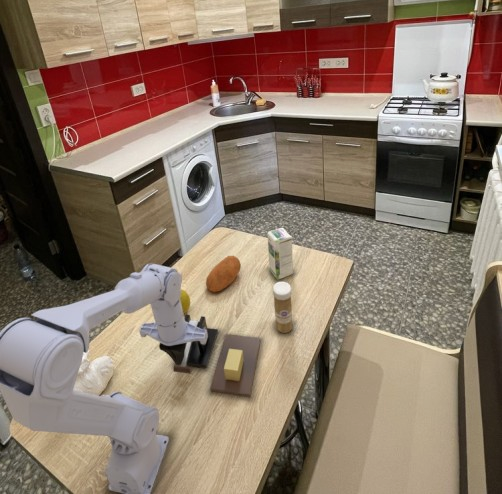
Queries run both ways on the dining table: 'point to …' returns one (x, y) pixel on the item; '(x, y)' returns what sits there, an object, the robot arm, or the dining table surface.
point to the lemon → (185, 301)
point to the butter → (233, 364)
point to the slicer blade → (186, 355)
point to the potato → (223, 274)
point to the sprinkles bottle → (283, 306)
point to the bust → (94, 374)
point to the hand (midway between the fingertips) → (179, 359)
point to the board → (248, 369)
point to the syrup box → (280, 253)
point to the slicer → (201, 346)
